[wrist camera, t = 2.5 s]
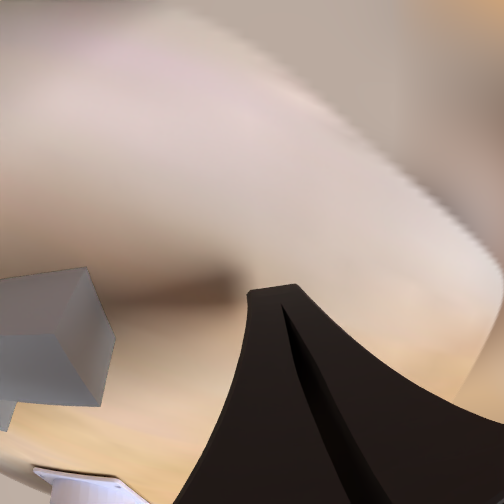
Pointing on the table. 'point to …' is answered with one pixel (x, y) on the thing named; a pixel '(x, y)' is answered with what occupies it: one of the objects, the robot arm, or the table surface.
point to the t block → (52, 341)
